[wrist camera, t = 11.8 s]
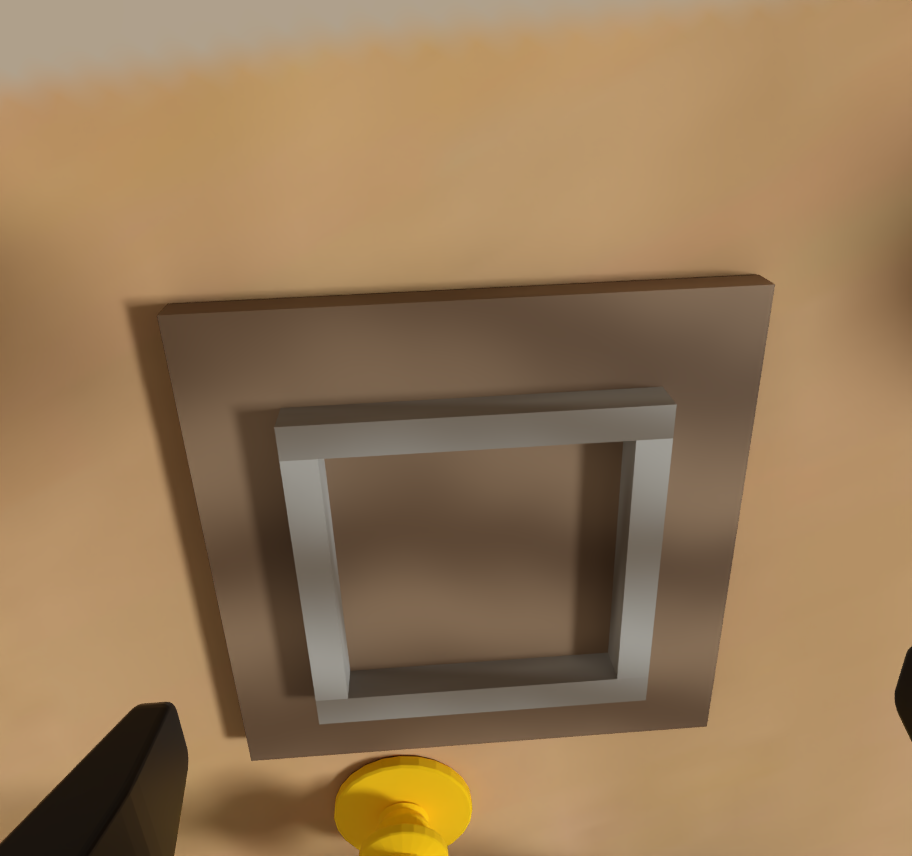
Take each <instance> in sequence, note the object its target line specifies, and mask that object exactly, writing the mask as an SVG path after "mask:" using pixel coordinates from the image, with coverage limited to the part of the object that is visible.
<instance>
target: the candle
mask: <svg viewBox="0 0 912 856" xmlns="http://www.w3.org/2000/svg"><path fill="white" fill-rule="evenodd" d="M471 813H472V801H471V796H470V791H469V788H468V786H467V784H466V783H465V781H464V780H463V778H462V777H461V776H460V775H459V774H457V773H456V772H455V771H454V770H453V769H451V768H450V767H448V766H446V765H444V764H442V763H440V762H438V761H435V760H432V759H427V758H423V757H418V756H397V757H391V758H384V759H381V760H378V761H375V762H372V763H370V764H367V765H365V766H364V767H362V768H360V769H359V770H357V771H356V772H354V773H353V774H351V775H350V776H349V777H348V779H347V780H346V781H345V782H344V783H343V784H342V785H341V787H340V789H339V791H338V793H337V796H336V800H335V813H334V820H335V823H336V826H337V829H338V831H339V832H340V833H341V835H342V836H343V837H344V839H345V840H346V841H347V842H349V843H350V844H352V845H353V846H354V847H356V848H357V849H359V850H360V851H359V856H448V848H447V846H448V845H450V844H452V843H453V842H454V841H455V840H456V839H457V838H458V837H459V836H460V835H461V834H462V833H464V831H465V829H466V827H467V826H468V824H469V822H470V819H471Z"/></svg>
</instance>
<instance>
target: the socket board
mask: <svg viewBox="0 0 912 856" xmlns="http://www.w3.org/2000/svg"><path fill="white" fill-rule="evenodd" d="M774 287H775V284H773V283H772V282H770V281H768V280H767V279H765V278H764V277H762V276H760V275H742V276H722V277H702V278H681V279H661V280H641V281H621V282H600V283H580V284H560V285H540V286H520V287H499V288H479V289H459V290H439V291H419V292H398V293H378V294H358V295H338V296H317V297H297V298H277V299H257V300H237V301H216V302H196V303H176V304H167V305H166V306H165V307H164V308H163V310H162V311H161V312H160V313H159V314H158V315H157V318H158V323H159V327H160V332H161V337H162V341H163V346H164V351H165V356H166V360H167V365H168V370H169V374H170V379H171V384H172V389H173V393H174V398H175V403H176V407H177V412H178V417H179V422H180V426H181V431H182V436H183V440H184V445H185V450H186V455H187V459H188V464H189V469H190V474H191V478H192V483H193V488H194V492H195V497H196V502H197V507H198V511H199V516H200V521H201V525H202V530H203V535H204V540H205V544H206V549H207V554H208V558H209V563H210V568H211V573H212V577H213V582H214V587H215V591H216V596H217V601H218V606H219V610H220V615H221V620H222V624H223V629H224V634H225V639H226V643H227V648H228V653H229V657H230V662H231V667H232V672H233V676H234V681H235V686H236V691H237V695H238V700H239V705H240V709H241V714H242V719H243V724H244V728H245V733H246V738H247V742H248V747H249V752H250V757H251V761H256V760H269V759H282V758H295V757H309V756H322V755H335V754H348V753H361V752H375V751H388V750H401V749H414V748H428V747H441V746H454V745H467V744H480V743H494V742H507V741H520V740H533V739H546V738H560V737H573V736H586V735H599V734H613V733H626V732H639V731H652V730H665V729H679V728H692V727H705V726H707V721H708V715H709V708H710V702H711V695H712V689H713V682H714V676H715V669H716V663H717V657H718V650H719V644H720V637H721V631H722V624H723V618H724V611H725V605H726V598H727V592H728V585H729V579H730V572H731V566H732V559H733V553H734V546H735V540H736V533H737V527H738V521H739V514H740V508H741V501H742V495H743V488H744V482H745V475H746V469H747V462H748V456H749V449H750V443H751V436H752V430H753V423H754V417H755V410H756V404H757V398H758V391H759V385H760V378H761V372H762V365H763V359H764V352H765V346H766V339H767V333H768V326H769V320H770V313H771V307H772V300H773V294H774Z"/></svg>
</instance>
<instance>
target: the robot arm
mask: <svg viewBox="0 0 912 856" xmlns="http://www.w3.org/2000/svg"><path fill="white" fill-rule="evenodd" d="M895 705H896V708H897V712H898V714H899V716H900V718H901V720H902V723H903V725H904V727H905V729H906V731H907V733H908V735H909V737H910V739H911V741H912V647H911V648H909V649H908V651H907V653H906V656H905V660H904V663H903V666H902V669H901V673H900V676H899V679H898V683H897V686H896V689H895ZM187 771H188V750H187V746H186V742H185V739H184V735H183V731H182V728H181V724H180V720H179V717H178V713H177V710H176V708H175V706H174V705H173V704H172V703H170V702H158V703H145V704H140V705H137V706H136V707H134V708H133V709H132V710H131V711H130V712H129V713H128V714H127V715H126V716H125V717H124V718H123V719H122V720H121V721H120V722H119V723H118V724H117V725H116V726H115V727H114V728H113V729H112V730H111V731H110V732H109V733H108V734H107V735H106V736H105V737H104V738H103V739H102V740H101V741H100V742H99V743H98V744H97V745H96V746H95V747H94V748H93V749H92V750H91V751H90V752H89V753H88V754H87V755H86V756H85V758H84V759H83V760H82V761H81V762H80V763H79V764H78V765H77V766H76V767H75V768H74V769H73V770H72V771H71V772H70V773H69V774H68V775H67V776H66V777H65V778H64V779H63V780H62V781H61V782H60V783H59V784H58V785H57V786H56V787H55V788H54V789H53V790H52V791H51V792H50V793H49V794H48V795H47V796H46V797H45V798H44V799H43V800H42V801H41V802H40V803H39V804H38V805H37V807H36V808H35V809H34V810H33V811H32V812H31V813H30V814H29V815H28V816H27V817H26V818H25V819H24V820H23V821H22V822H21V823H20V824H19V825H18V826H17V827H16V828H15V829H14V830H13V831H12V832H11V833H10V834H9V835H8V836H7V837H6V838H5V839H4V840H3V841H2V842H1V843H0V856H174V853H175V847H176V840H177V834H178V828H179V821H180V815H181V809H182V803H183V796H184V790H185V784H186V777H187Z"/></svg>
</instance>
